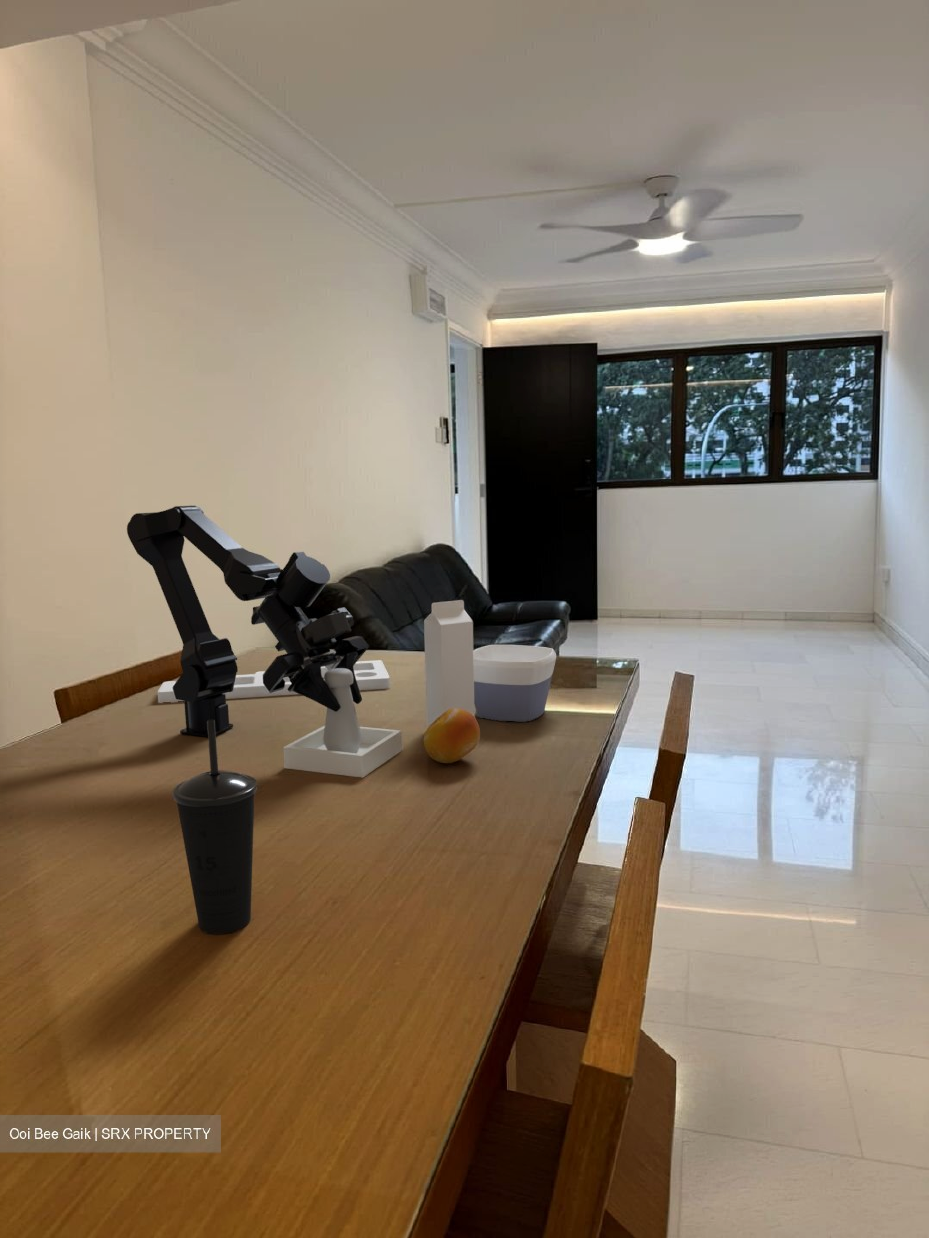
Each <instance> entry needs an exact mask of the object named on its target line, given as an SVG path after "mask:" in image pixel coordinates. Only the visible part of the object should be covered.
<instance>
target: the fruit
mask: <svg viewBox="0 0 929 1238" xmlns="http://www.w3.org/2000/svg"><path fill="white" fill-rule="evenodd" d="M474 716H475V715H474ZM474 716H473V715H472V714H471V713H469V712H467V711H465V710H463V709H458V708H454V709H449V710H447V711H446V712H445V713H443V714H442V715H441V716H440V717H438V718H437V719H436V720H435V721H434V722H433V723H432V724H431V725H430V726H429V727H428V729H427V728H426V730H425V732H424V735H423V745H424V748H425V751H426V752H427V753H426V754H427V755H429V757H430V758H431V759H433V760H434V761H436V762H439V763H443V764H452V763H455V762H457V761H459V760H461V759H462V758H463V757H465V756H467V755H468V754H470V753H471V752H473V750H475V749H476V747H477V746H478V744H479V742H480V739H481V730H480V725H479V722H478V720H477V719H476V717H474Z"/></svg>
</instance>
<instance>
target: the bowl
mask: <svg viewBox="0 0 929 1238" xmlns="http://www.w3.org/2000/svg"><path fill="white" fill-rule="evenodd" d="M473 660H474V709H475V711H476V715H477V717H478V718H479V719H483V718H486V719H485V720H489V719H492V720H491V721H496V720H500V721H499V722H506V721H518V722H517V723H528V722H527V721H529V722H531V720H532V721H534V720H536V719H538V718H539V717H541V716H542V715H543V714H544V712H545V709H546V705H547V702H548V701H547V700H548V695H549V691H550V686H551V681H552V677H553V673H554V669H555V664H556V660H557V654H556V651H555V650H554V649H553V647H551V648H550V647H545V646H535V645H523V644H522V645H519V644H518V645H517V644H489V645H485V646H481V647H478V648H476V649H473ZM535 718H536V719H535ZM533 719H534V720H533Z"/></svg>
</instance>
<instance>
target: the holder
mask: <svg viewBox="0 0 929 1238" xmlns="http://www.w3.org/2000/svg"><path fill="white" fill-rule="evenodd" d="M353 669H354V674H355V678H356V681H357V684H358V687H359V691H370V690H371V691H372V690H387V689H391V678H390V677H391V676H390V675H389V673H388V671H387V669H386V666H385V665H384V663H383V660H381V659H379V660H363V661H362V660H361V661H359V660H358V661H357V662H356V663H355V664H354V666H353ZM265 671H266V670H265ZM265 671H264V670H263V671H262V670H261V671H256V672H255V673H249V674H236V678H235V683H234V688H233V691H232V692H227V693H223V694H225V695H226V700H228V699H229V700H230V699H231V700H232V699H233V700H234V699H244V698H245V699H246V698H248V699H249V698H261V697H277V696H278V697H279V696H291V695H292V696H293V695H295V696H296V695H299V694H298V693H296V692H293V691H292V692H289V691H288V688H289V686H290V685H291V684H292V683H291V682H290V681H289V680H290V679H289V677H285V678H283V679H284V681H285V687H284V688H283V689H282V690H279V691H276V692H272V693H270V692H269V691H268V690H267V688H266V687H265V685H264V684H263V674H264V673H265ZM327 671H328V669H327V668H326V667H325V666H323V667H321V675H322V678H323V679H324V676H325V673H326V672H327ZM176 681H177V680H173V681H163V682H162V684H161V686H160V687H159V688H158V690H157V703H158V704H164V703H163V702H171V703H179V702H178V701H183V700H178V699H176V698H175V695H174V691H173V686H174V684H175V683H176ZM324 681H325V680H324Z"/></svg>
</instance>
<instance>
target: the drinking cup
mask: <svg viewBox="0 0 929 1238" xmlns="http://www.w3.org/2000/svg"><path fill="white" fill-rule="evenodd" d="M207 726H208V736H207V739H208V741H207V742H208V751H209V768H210V771H206V772H202V773H200V774H197V775H194V776H193V777H190V778H188V779H187V780H184V781H182V782H180V783H178V784H177V785H176V786H175V787H174V788H173V790H172V798H173V800H174V801H175V802H176V804H177V811H178V815H179V822H180V827H181V833H182V838H183V844H184V850H185V855H186V861H187V867H188V872H189V878H190V883H191V888H192V894H193V895H192V896H193V899H194V907H195V912H196V917H197V918H196V919H197V922H198V927H199V930H201V931H202V932H204V933H205V934H210V935H227V934H231V933H234V932H237V931H240V930H241V929H243V928H245V927H246V926H247V925H248V924H249V923H250V921H251V918H252V891H253V889H252V886H253V885H252V884H253V856H254V855H253V854H254V824H255V822H254V820H255V818H254V817H255V793H256V792H257V791H258V782H257V781H258V780H257V779H255V777H253V776H252V775H248V774H244V773H239V772H236V771H234V770H233V771H231V770H222V769H221V770H219V764H218V762H219V761H218V750H217V749H218V748H217V747H218V746H217V734H216V732H215V720H208V721H207Z"/></svg>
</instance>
